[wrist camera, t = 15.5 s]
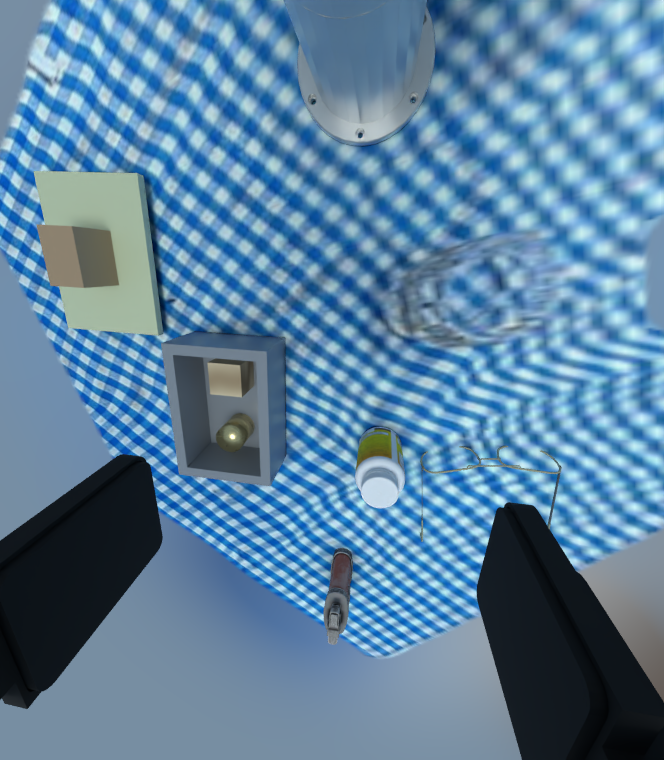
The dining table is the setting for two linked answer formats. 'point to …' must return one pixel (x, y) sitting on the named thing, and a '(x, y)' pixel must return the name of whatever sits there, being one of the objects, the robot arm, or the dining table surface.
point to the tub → (226, 406)
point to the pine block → (230, 377)
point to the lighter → (338, 594)
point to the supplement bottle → (380, 467)
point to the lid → (100, 250)
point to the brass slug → (235, 432)
